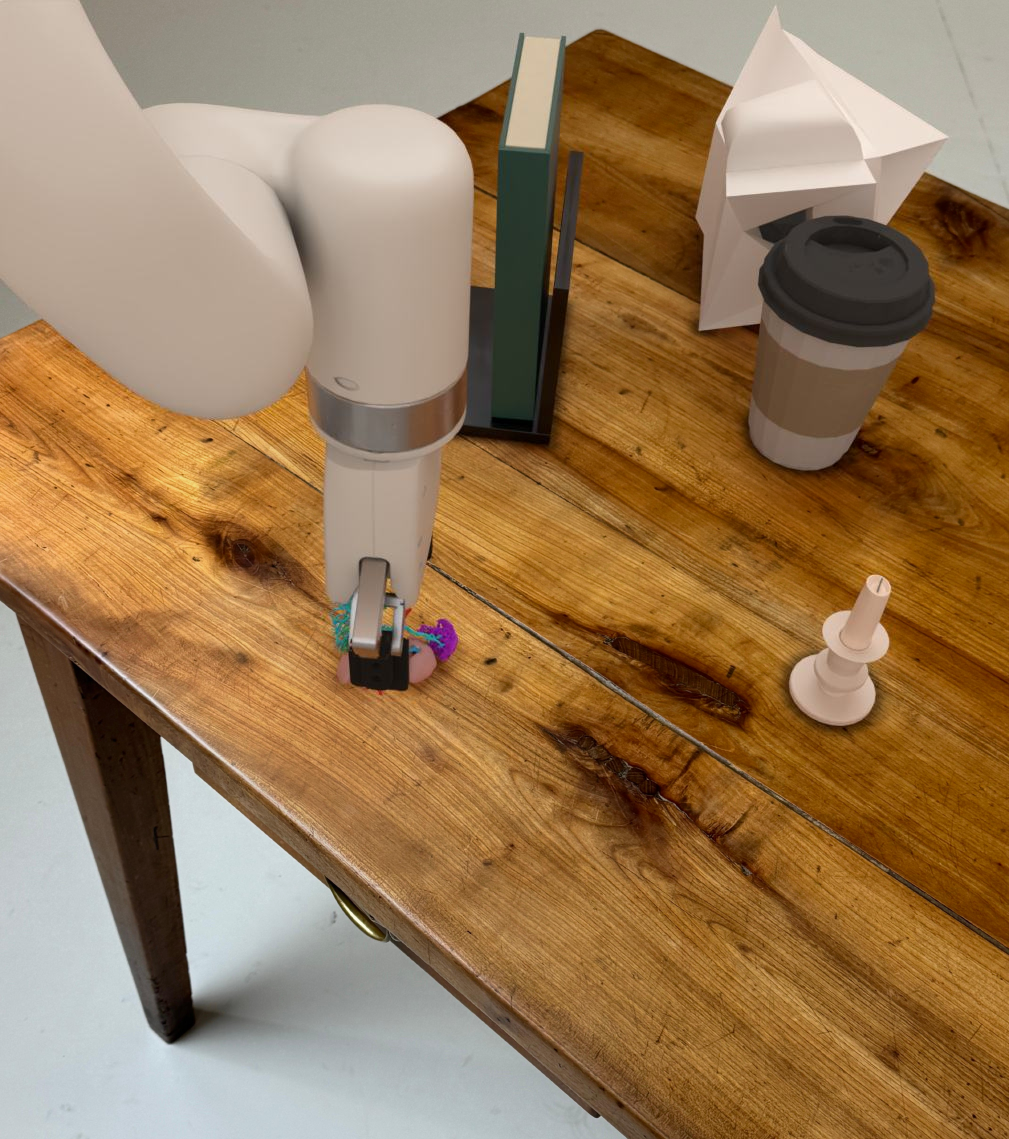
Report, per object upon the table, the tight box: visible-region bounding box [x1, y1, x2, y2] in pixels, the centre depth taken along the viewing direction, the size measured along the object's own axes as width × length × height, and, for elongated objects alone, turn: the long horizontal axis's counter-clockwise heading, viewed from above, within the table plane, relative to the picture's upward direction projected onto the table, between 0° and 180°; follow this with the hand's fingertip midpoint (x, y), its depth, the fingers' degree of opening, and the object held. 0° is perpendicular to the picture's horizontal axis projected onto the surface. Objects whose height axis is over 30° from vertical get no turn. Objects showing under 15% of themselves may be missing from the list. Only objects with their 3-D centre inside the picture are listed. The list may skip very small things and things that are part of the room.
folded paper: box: [694, 4, 950, 332], centre depth 99 cm, size 17×24×17 cm
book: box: [491, 32, 567, 420], centre depth 86 cm, size 20×14×3 cm
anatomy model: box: [328, 599, 459, 697], centre depth 75 cm, size 5×8×7 cm
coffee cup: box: [747, 215, 936, 471], centre depth 86 cm, size 11×11×15 cm
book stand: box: [455, 150, 585, 446], centre depth 90 cm, size 11×16×13 cm
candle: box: [788, 574, 892, 727], centre depth 74 cm, size 5×5×10 cm
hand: (393, 617), depth 74 cm, fingers open, 9 cm apart
